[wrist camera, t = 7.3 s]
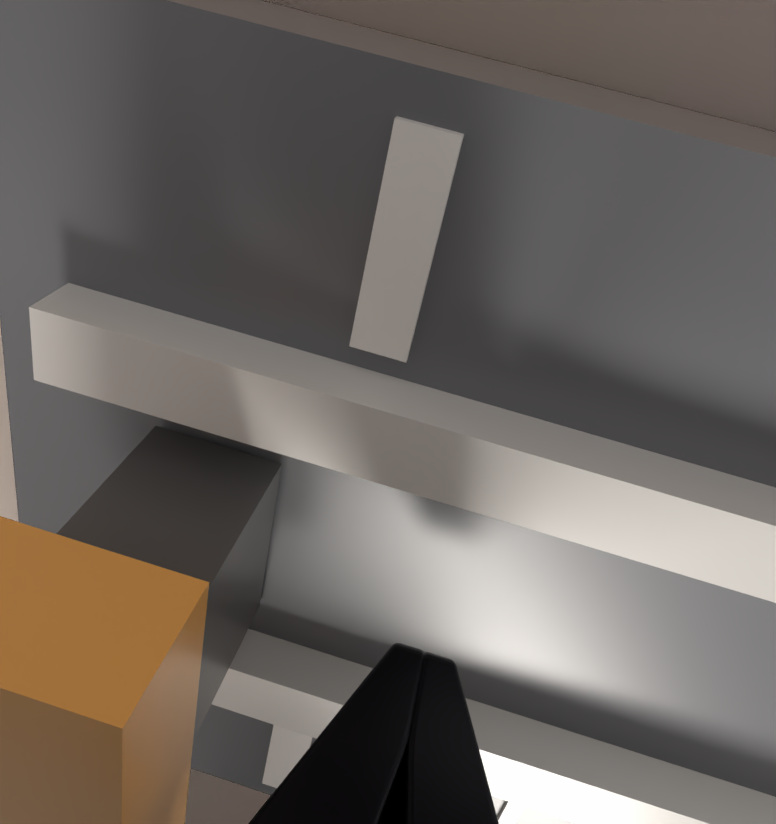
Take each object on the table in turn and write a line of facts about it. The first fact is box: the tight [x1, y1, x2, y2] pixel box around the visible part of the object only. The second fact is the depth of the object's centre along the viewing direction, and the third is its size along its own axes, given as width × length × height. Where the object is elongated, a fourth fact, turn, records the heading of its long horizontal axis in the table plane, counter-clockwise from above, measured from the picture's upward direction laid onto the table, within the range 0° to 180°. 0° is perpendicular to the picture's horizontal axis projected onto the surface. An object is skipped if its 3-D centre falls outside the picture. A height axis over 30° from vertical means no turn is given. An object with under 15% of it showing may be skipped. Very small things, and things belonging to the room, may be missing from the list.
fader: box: [0, 426, 282, 824], centre depth 9 cm, size 3×6×5 cm, turn 169°
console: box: [0, 0, 776, 824], centre depth 11 cm, size 21×13×3 cm, turn 79°
